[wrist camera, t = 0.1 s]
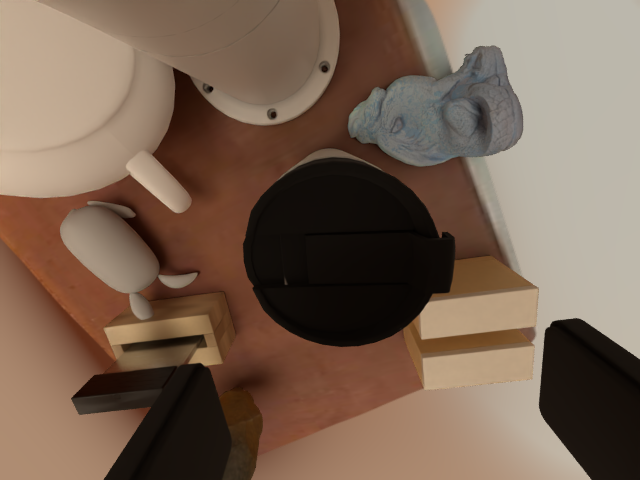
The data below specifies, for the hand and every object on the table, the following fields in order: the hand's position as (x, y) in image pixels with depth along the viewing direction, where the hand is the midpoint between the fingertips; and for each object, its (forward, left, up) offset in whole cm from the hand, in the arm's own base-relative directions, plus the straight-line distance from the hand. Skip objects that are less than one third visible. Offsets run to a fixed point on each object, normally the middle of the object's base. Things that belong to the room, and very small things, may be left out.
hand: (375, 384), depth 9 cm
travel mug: (-3, -1, -21) cm, 22 cm away
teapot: (-15, -16, -10) cm, 24 cm away
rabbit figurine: (+1, -20, -21) cm, 29 cm away
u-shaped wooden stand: (+10, +9, -21) cm, 25 cm away
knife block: (+9, -18, -21) cm, 29 cm away
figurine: (-7, +7, -21) cm, 24 cm away
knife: (+9, -18, -21) cm, 29 cm away
